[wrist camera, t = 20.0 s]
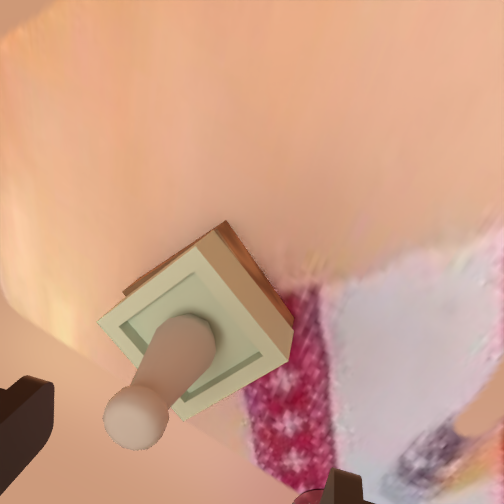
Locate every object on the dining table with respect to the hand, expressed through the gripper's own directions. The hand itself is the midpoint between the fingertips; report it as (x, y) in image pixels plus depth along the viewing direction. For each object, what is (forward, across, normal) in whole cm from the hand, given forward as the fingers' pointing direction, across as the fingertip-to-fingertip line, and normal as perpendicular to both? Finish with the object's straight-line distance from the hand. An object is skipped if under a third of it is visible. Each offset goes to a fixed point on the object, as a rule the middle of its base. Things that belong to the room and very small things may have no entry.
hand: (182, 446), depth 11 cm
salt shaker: (+25, +6, +12) cm, 28 cm away
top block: (+28, +6, +12) cm, 32 cm away
